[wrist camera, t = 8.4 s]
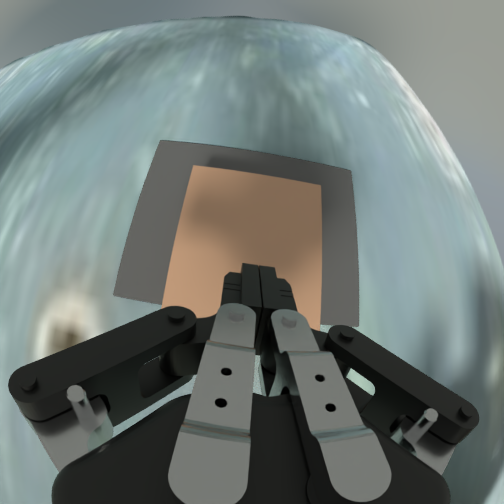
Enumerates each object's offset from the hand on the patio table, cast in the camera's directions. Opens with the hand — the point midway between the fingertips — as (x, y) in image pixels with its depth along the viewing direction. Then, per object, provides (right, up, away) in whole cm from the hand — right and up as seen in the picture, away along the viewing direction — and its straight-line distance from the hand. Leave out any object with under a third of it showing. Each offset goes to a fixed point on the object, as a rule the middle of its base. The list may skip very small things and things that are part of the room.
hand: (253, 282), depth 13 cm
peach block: (-1, -4, +5) cm, 7 cm away
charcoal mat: (0, +4, +11) cm, 12 cm away
